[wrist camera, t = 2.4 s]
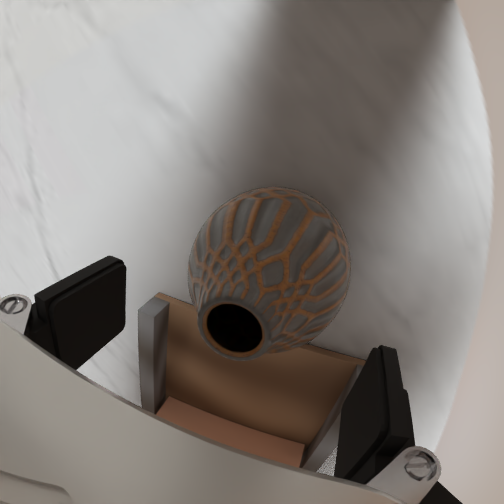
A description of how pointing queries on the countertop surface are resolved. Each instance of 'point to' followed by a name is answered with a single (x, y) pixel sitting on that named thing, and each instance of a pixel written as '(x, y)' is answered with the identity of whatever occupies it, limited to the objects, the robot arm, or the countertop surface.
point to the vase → (267, 273)
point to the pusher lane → (244, 380)
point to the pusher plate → (231, 433)
